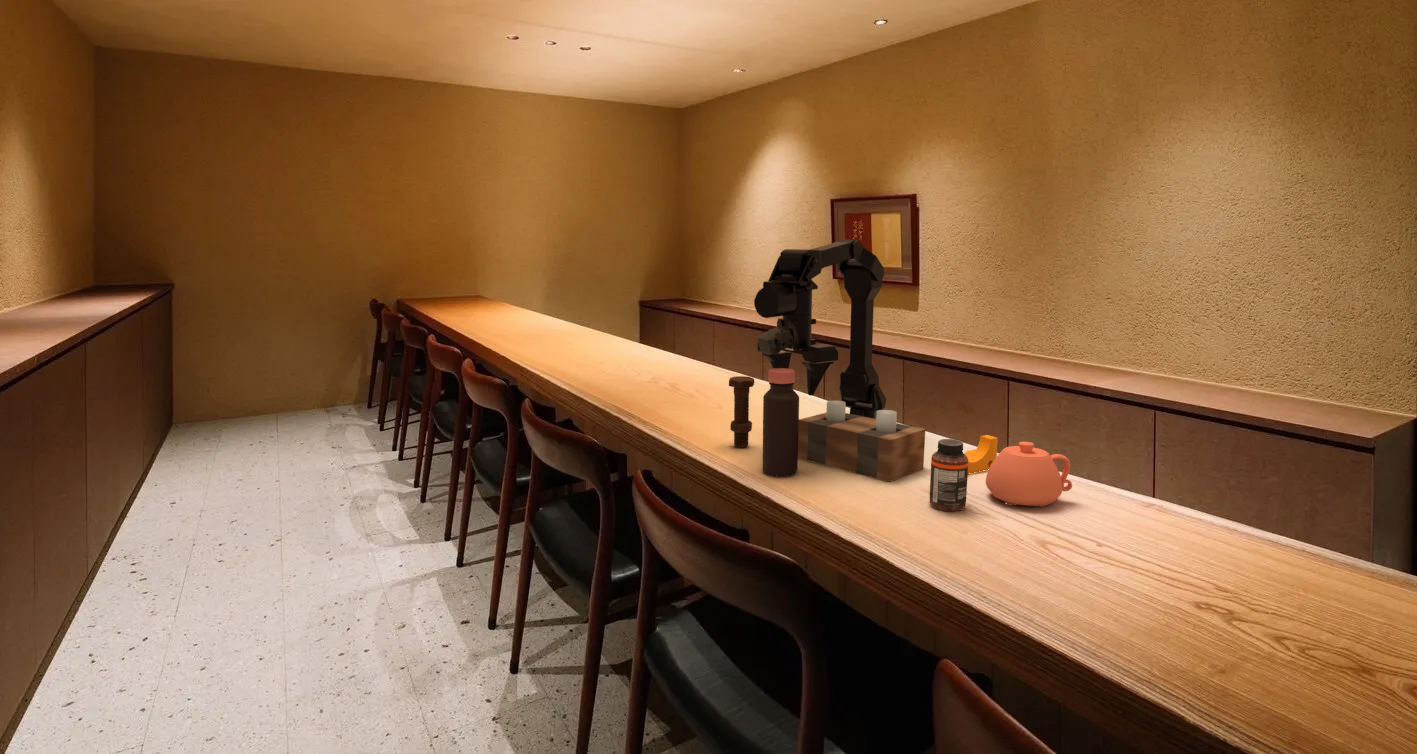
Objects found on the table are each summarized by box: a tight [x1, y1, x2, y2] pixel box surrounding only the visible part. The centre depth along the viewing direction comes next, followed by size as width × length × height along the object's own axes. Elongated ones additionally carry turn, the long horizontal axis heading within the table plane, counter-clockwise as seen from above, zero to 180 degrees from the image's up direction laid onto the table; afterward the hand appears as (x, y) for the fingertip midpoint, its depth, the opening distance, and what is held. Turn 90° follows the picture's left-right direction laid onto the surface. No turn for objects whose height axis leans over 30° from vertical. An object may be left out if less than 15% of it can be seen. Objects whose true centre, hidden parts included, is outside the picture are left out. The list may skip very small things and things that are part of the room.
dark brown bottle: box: [761, 368, 800, 478], centre depth 146 cm, size 7×7×20 cm
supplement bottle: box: [928, 438, 969, 512], centre depth 129 cm, size 6×6×11 cm
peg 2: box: [876, 409, 898, 434], centre depth 148 cm, size 4×4×7 cm
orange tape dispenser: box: [963, 434, 999, 475], centre depth 149 cm, size 12×4×6 cm, turn 117°
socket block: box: [798, 412, 926, 483], centre depth 153 cm, size 12×22×8 cm, turn 44°
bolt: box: [728, 375, 755, 448], centre depth 165 cm, size 6×5×15 cm
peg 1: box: [825, 399, 847, 423], centre depth 157 cm, size 4×4×7 cm
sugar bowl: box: [985, 441, 1073, 508], centre depth 132 cm, size 12×14×10 cm
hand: (795, 391), depth 154 cm, fingers open, 9 cm apart
